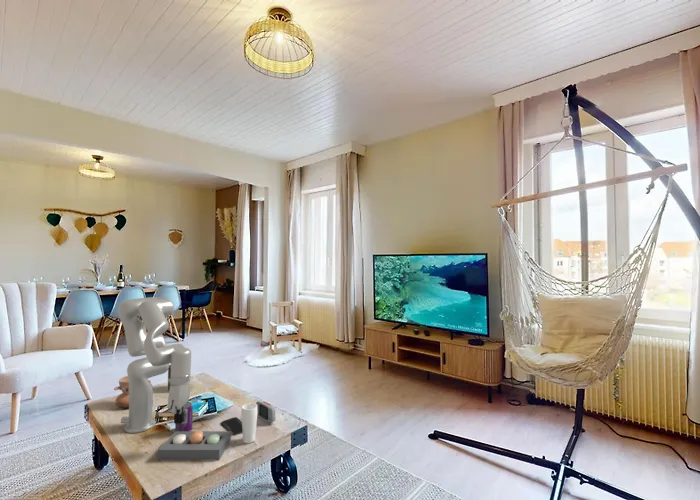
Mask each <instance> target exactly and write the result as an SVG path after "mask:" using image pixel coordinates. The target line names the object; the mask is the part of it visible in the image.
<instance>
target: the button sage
mask: <svg viewBox="0 0 700 500" xmlns="http://www.w3.org/2000/svg"><path fill="white" fill-rule="evenodd" d="M219 440H220V436H219V435H218V434H213V435H210V436H208V437H207V444H218V443H219Z"/></svg>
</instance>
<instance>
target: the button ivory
mask: <svg viewBox="0 0 700 500" xmlns="http://www.w3.org/2000/svg"><path fill="white" fill-rule="evenodd" d="M185 441H186V435H185V434H179V435H176V436H175V437H173V444H184V442H185Z"/></svg>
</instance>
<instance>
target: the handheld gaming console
mask: <svg viewBox="0 0 700 500" xmlns="http://www.w3.org/2000/svg"><path fill="white" fill-rule="evenodd" d="M255 404H257V408H258V413H257V417H258V418H260V419H261V420H262V421H264V422H266V423H273V422H275V421H276V409H275V407H273V406H272V405H271V404H270V403H268V402H266V401H262V400H258V401H256V402H255Z"/></svg>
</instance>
